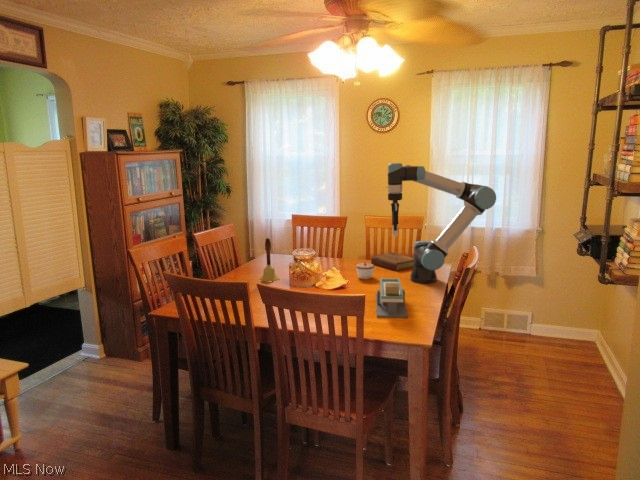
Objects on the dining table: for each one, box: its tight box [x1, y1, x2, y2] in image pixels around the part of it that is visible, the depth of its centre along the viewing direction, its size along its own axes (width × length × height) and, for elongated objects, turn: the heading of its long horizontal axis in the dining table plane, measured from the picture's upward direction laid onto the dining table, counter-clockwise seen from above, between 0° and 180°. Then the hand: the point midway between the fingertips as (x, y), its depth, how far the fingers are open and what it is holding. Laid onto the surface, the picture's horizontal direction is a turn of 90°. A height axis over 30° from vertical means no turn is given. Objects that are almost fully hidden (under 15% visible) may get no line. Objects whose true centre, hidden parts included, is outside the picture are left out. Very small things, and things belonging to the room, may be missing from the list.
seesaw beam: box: [379, 277, 404, 302], centre depth 223 cm, size 10×28×3 cm, turn 174°
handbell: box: [258, 237, 280, 282], centre depth 272 cm, size 12×12×25 cm
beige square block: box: [385, 283, 399, 296], centre depth 214 cm, size 6×6×5 cm
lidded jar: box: [355, 262, 375, 280], centre depth 273 cm, size 11×11×9 cm
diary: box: [370, 252, 414, 272], centre depth 301 cm, size 23×19×6 cm
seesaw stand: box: [375, 288, 409, 319], centre depth 224 cm, size 14×32×8 cm, turn 174°
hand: (395, 236), depth 248 cm, fingers closed
